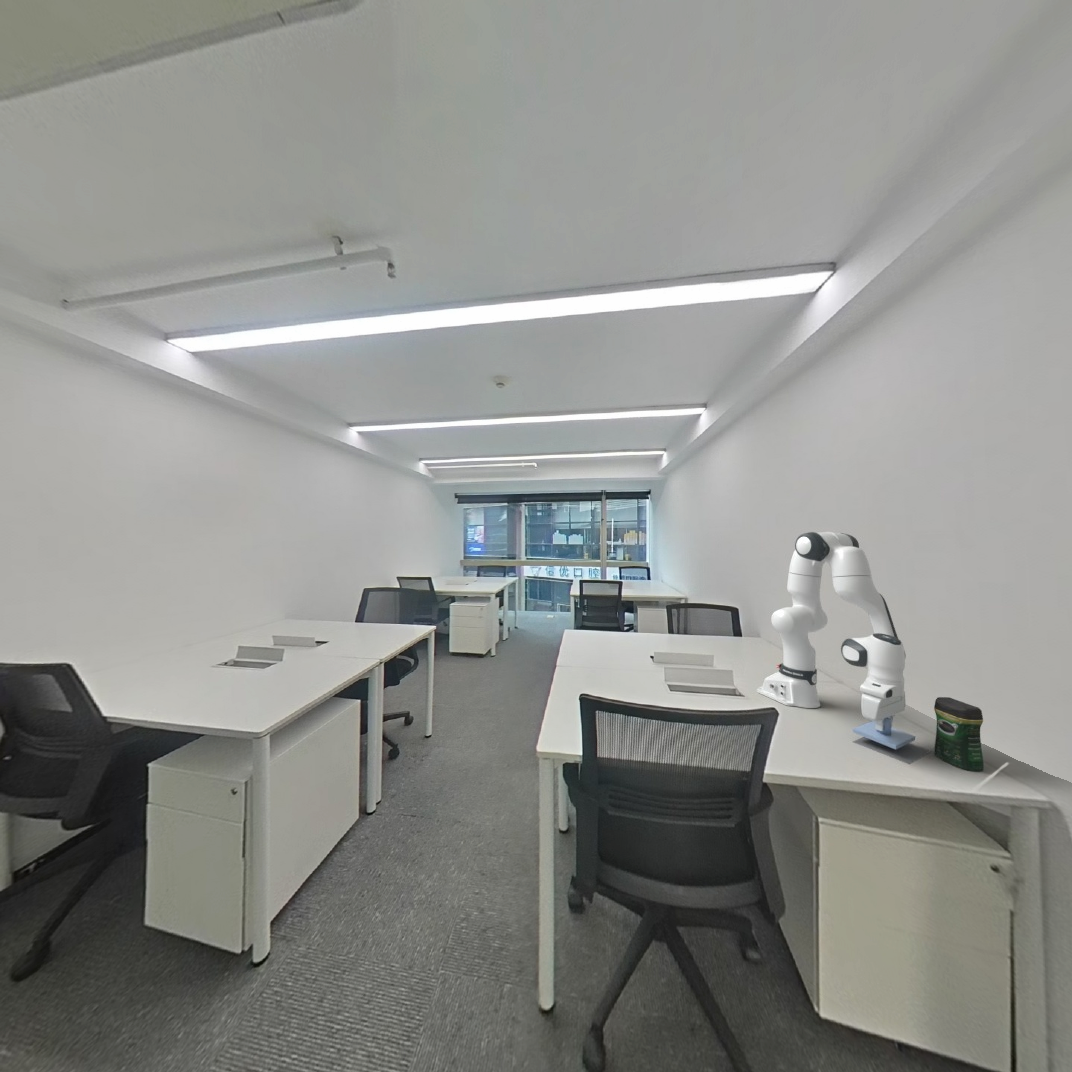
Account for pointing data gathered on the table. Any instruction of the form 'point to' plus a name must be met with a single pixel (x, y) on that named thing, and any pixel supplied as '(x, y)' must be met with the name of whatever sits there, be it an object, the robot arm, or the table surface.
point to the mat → (895, 750)
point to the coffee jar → (958, 734)
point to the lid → (884, 734)
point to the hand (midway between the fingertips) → (883, 728)
